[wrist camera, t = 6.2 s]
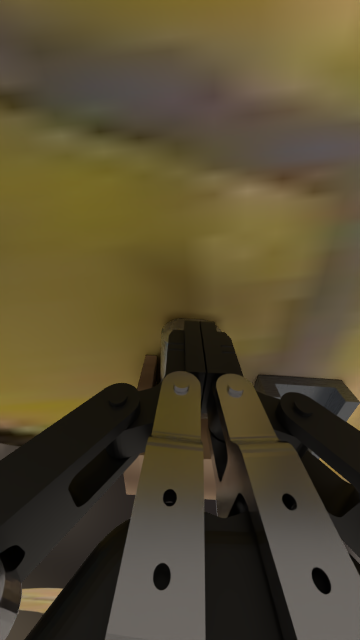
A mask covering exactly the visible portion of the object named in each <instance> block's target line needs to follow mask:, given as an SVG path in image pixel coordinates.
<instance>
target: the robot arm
mask: <svg viewBox="0 0 360 640" xmlns="http://www.w3.org/2000/svg"><path fill="white" fill-rule="evenodd" d="M201 413H206V414H207V417H208V424H207V430H206V431H207V438H208V444H209V449H210V455H211V460H212V466H213V472H214V477H215V483H216V508H217V516H215V515H212V514H210V513H207V512H204V456H203V442H202V441H201ZM308 449H310V450H311V451H313V452H314V453H315V454H316V455H317V456H319V457H320V458H321V459H322V460H323V461H325V462H326V463H327V464H328V465H329V466H331V467H332V468H333V469H334V470H335V471H337V472H338V473H339V474H340V475H341V476H343V477H344V478H345V479H346V480H347V481H349V482H350V483H351V484H350V483H347V482H346V481H344V480H343V479H341V478H340V477H339V476H338V475H336V474H335V473H334V472H333V471H332V470H331V469H329V468H328V467H327V466H326V465H325V464H323V463H322V462H321V461H320V460H319V459H317V458H316V457H315V456H314V455H313V454H312V453H310V452H309V451H308ZM143 452H145V454H144V459H143V464H142V468H141V473H140V478H139V482H138V487H137V492H136V496H135V501H134V506H133V510H132V515H131V518H130V519H128V520H126V521H125V522H123V523H122V524H120V525H119V526H117V527H116V528H115V529H113V530H112V531H111V532H110V533H109V534H107V536H105V538H103V540H102V541H101V542H100V543H99V544H98V545H97V546H96V547H95V548H94V550H93V551H92V552H91V553H90V555H89V556H88V557H87V558H86V560H85V561H84V562H83V564H82V565H81V566H80V568H79V569H78V570H77V572H76V573H75V574H74V576H73V577H72V578H71V579H70V581H69V582H68V583H67V585H66V586H65V587H64V589H63V590H62V591H61V592H60V594H59V595H58V596H57V598H56V599H55V600H54V602H53V603H52V604H51V606H50V607H49V608H48V609H47V611H46V612H45V613H44V615H43V616H42V617H41V619H40V620H39V621H38V623H37V624H36V625H35V626H34V628H33V629H32V630H31V632H30V633H29V635H28V636H27V637H26V638H25V639H24V640H360V564H359V563H358V562H357V561H356V560H355V559H354V558H353V557H352V556H351V555H350V554H349V553H348V552H347V550H346V548H345V546H344V544H343V542H342V540H343V541H344V542H345V543H346V544H347V545H348V546H349V547H350V548H351V549H352V550H353V551H354V552H355V553H356V554H357V555H358V557H360V431H359V430H357V429H356V428H354V427H353V426H351V425H350V424H349V423H347V422H346V421H344V420H343V419H341V418H340V417H338V416H337V415H335V414H334V413H332V412H331V411H329V410H328V409H326V408H325V407H323V406H322V405H320V404H319V403H317V402H316V401H314V400H313V399H311V398H310V397H308V396H306V395H304V394H301V393H297V392H288V393H285V394H284V395H283V396H282V397H281V399H278V398H275V397H271V396H268V395H265V394H262V393H260V392H258V391H256V390H255V388H254V386H253V385H252V383H251V382H250V381H249V380H247V379H246V378H244V377H243V374H242V371H241V368H240V365H239V362H238V359H237V356H236V354H235V350H234V347H233V344H232V340H231V338H230V337H229V336H228V335H227V334H226V333H225V332H217V329H216V325H215V322H209V321H200V322H199V321H191V320H184V330H173V331H172V332H171V333H170V334H169V338H168V350H167V360H166V371H165V376H164V378H163V380H162V381H161V382H160V383H159V384H158V385H156V386H155V387H152V388H149V389H145V390H141V391H138V390H137V389H136V388H135V387H134V386H132V385H130V384H127V383H117V384H113V385H110V386H108V387H107V388H105V389H104V390H102V391H101V392H99V393H98V394H96V395H95V396H93V397H92V398H90V399H89V400H88V401H86V402H85V403H83V404H82V405H80V406H79V407H77V408H76V409H75V410H73V411H72V412H70V413H69V414H67V415H66V416H64V417H63V418H61V419H60V420H59V421H57V422H56V423H54V424H53V425H51V426H50V427H48V428H47V429H45V430H44V431H43V432H41V433H40V434H38V435H37V436H35V437H34V438H32V439H31V440H30V441H28V442H27V443H25V444H24V445H22V446H21V447H19V448H18V449H16V450H15V451H14V452H12V453H11V454H9V455H8V456H6V457H5V458H3V459H2V460H0V640H5V639H6V637H7V635H8V634H9V632H10V630H11V627H12V626H13V624H14V621H15V619H16V616H17V613H18V610H19V607H20V602H21V596H22V585H21V583H22V581H23V580H24V579H25V578H26V577H27V576H28V575H29V574H30V573H31V572H32V571H33V570H34V568H35V567H36V566H37V565H38V564H39V563H40V562H41V561H42V560H43V559H44V558H45V557H46V556H47V555H48V553H49V552H50V551H51V550H52V549H53V548H54V547H55V546H56V545H57V544H58V543H59V542H60V540H61V539H62V538H63V537H64V536H65V535H66V534H67V533H68V532H69V531H70V530H71V529H72V528H73V527H74V525H75V524H76V523H77V522H78V521H79V520H80V519H81V518H82V517H83V516H84V515H85V514H86V513H87V511H88V510H89V509H90V508H91V507H92V506H93V505H94V504H95V503H96V502H97V501H98V500H99V498H100V497H101V496H102V495H103V494H104V493H105V492H106V491H107V490H108V489H109V488H110V487H111V485H112V484H113V483H114V482H115V481H116V480H117V479H118V478H119V477H120V476H121V475H122V474H123V473H124V472H125V471H126V469H127V468H128V467H129V466H130V465H131V464H132V463H133V462H134V461H135V460H136V459H137V457H138V456H139V455H140V453H143ZM341 539H342V540H341Z"/></svg>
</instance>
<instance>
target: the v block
mask: <svg viewBox="0 0 360 640" xmlns="http://www.w3.org/2000/svg"><path fill="white" fill-rule="evenodd" d="M254 388H255V390H256V391H258V392H260V393H262V394H265V395H268V396H271V397H275V398H278V399H281V397H282V396H283V395H284V394H285V393H288V392H297V393H301V394H304V395H306V396H308V397H310V398H311V399H313V400H314V401H316V402H317V403H319V404H320V405H322V406H323V407H325V408H326V409H328V410H329V411H331V412H332V413H334V414H335V415H337V416H338V417H340V418H341V419H343V420H344V421H347V420H348V418H349V417H350V416H351V414H352V413H353V412H354V410H355V409H356V408H357V406H358V405H359V403H360V402H359V400H358V399H357V398H356V397H355V396H354V394H353V393H352V392H351V391H350V390H349V388H348V387H347V386H346V385H345V384H344V382H343V381H342V380H330V379H314V378H299V377H284V376H268V375H258V377H257V380H256V383H255V386H254ZM308 451H309V452H310V453H312V454H313V455H314V456H315V457H316V458H317V459H319V458H320V457H319V456H317V455H316V454H315V453H314V452H313V451H311V450H310V449H308Z"/></svg>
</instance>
